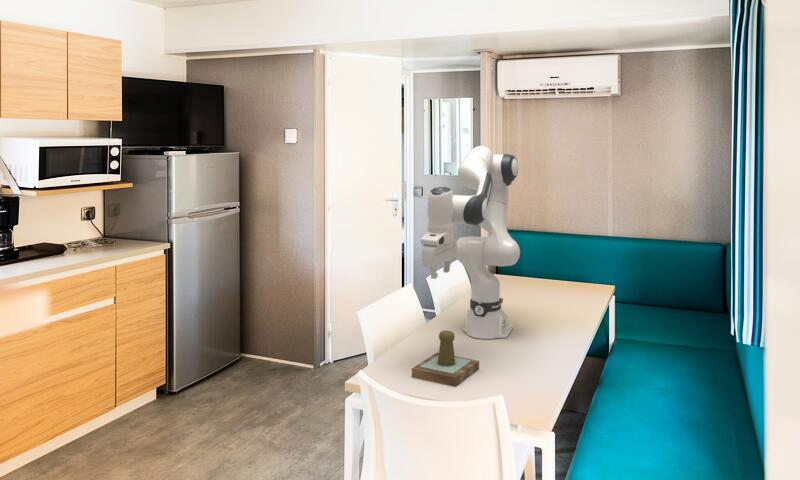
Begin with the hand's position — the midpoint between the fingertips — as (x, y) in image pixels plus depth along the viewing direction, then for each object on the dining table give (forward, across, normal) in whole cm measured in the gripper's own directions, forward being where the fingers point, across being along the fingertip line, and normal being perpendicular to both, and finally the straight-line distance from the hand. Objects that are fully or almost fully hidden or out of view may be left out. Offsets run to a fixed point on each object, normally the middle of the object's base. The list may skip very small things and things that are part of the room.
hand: (440, 275), depth 223 cm
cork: (+27, +10, +7) cm, 30 cm away
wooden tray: (+30, +10, +7) cm, 33 cm away
